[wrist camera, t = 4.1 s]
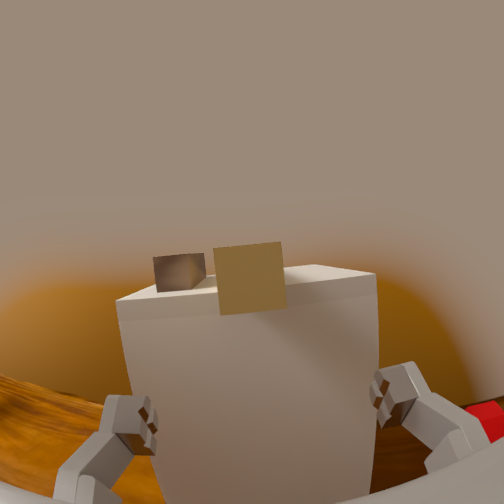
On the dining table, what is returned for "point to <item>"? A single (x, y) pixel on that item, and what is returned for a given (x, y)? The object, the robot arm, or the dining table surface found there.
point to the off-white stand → (259, 389)
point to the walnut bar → (179, 272)
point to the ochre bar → (250, 278)
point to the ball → (489, 419)
